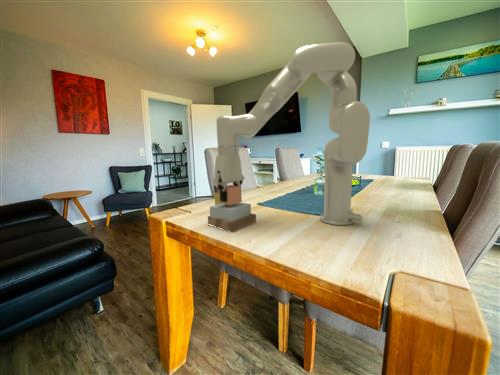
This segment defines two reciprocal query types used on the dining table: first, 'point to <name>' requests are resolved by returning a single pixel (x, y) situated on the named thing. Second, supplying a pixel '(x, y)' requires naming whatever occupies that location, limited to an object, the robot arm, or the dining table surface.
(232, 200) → the terracotta cube
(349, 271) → the dining table surface
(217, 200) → the sauce bottle
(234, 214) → the slate block
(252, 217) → the walnut block
